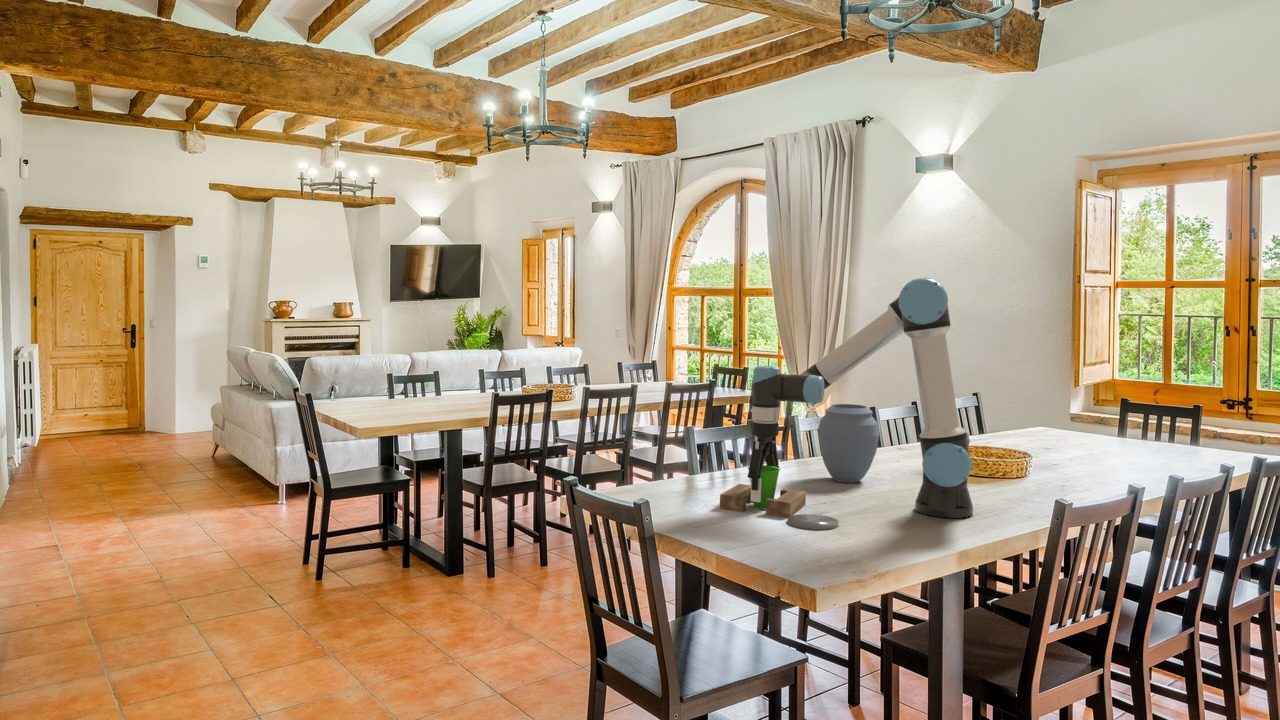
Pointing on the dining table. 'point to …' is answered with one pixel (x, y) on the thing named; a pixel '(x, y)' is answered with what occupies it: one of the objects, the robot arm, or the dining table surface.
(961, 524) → the dining table surface
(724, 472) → the dining table surface
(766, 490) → the cup
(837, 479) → the vase
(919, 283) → the robot arm
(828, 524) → the coaster
